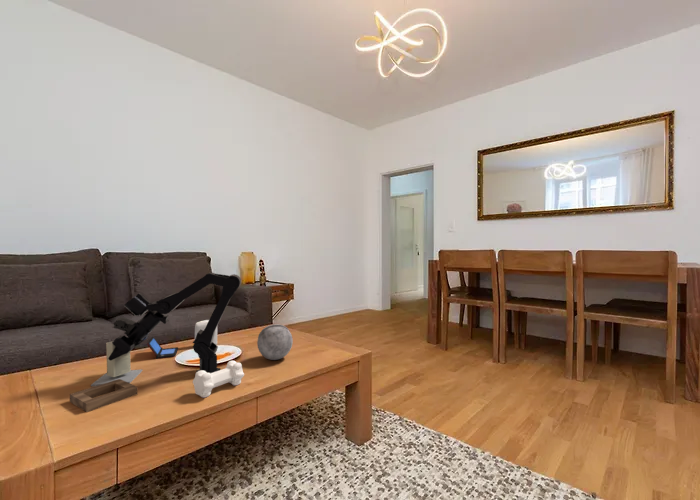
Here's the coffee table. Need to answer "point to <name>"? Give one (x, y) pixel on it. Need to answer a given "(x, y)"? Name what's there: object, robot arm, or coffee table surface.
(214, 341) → the photo printer
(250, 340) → the coffee table surface
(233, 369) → the white bone
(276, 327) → the decorative orb
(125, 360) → the skincare box
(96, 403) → the walnut holder
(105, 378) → the slate mat
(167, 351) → the handheld game console
